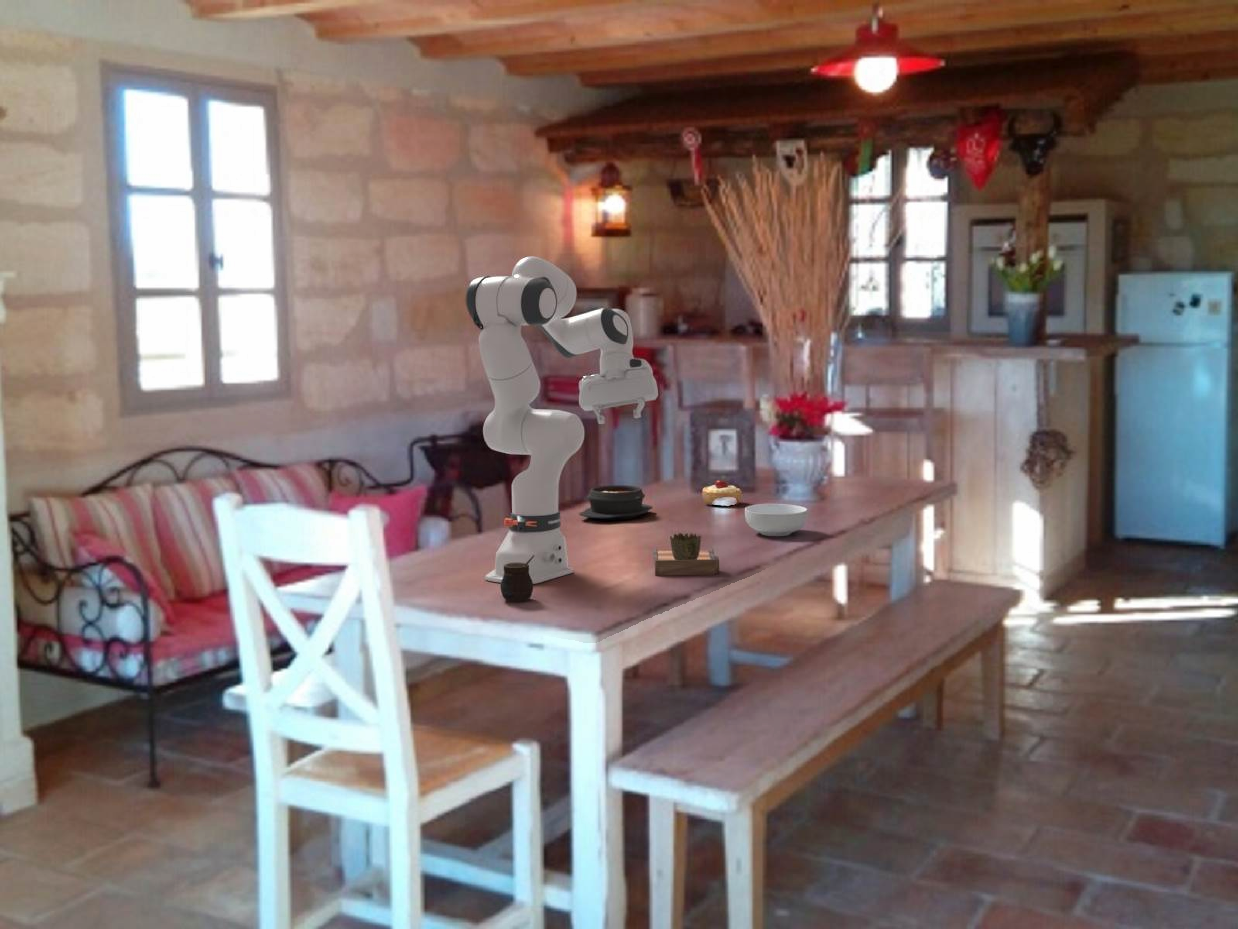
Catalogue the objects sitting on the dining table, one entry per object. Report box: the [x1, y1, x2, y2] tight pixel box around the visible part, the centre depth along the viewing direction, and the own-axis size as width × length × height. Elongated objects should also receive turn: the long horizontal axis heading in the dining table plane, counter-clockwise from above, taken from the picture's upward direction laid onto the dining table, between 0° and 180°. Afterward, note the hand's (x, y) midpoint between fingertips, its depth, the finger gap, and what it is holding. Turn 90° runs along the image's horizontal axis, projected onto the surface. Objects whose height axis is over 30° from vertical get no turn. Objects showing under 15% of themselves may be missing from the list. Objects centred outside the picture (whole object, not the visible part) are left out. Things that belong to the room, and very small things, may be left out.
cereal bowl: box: [744, 503, 808, 537], centre depth 381 cm, size 17×17×7 cm
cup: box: [669, 532, 702, 560], centre depth 338 cm, size 8×7×8 cm
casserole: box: [578, 484, 653, 521], centre depth 411 cm, size 25×19×8 cm
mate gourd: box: [499, 555, 534, 603], centre depth 308 cm, size 7×8×10 cm
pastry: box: [701, 474, 743, 506], centre depth 430 cm, size 12×12×9 cm
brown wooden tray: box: [652, 547, 720, 576], centre depth 347 cm, size 32×15×4 cm, turn 179°
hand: (619, 420), depth 354 cm, fingers open, 8 cm apart
